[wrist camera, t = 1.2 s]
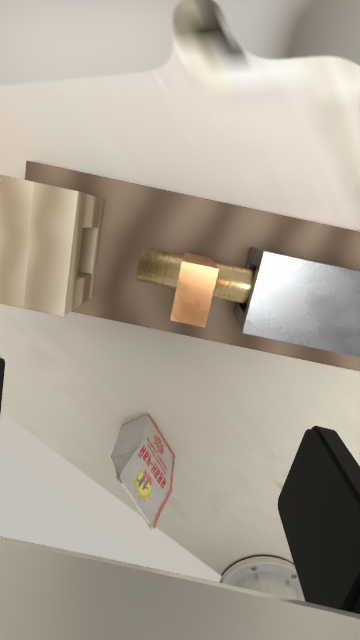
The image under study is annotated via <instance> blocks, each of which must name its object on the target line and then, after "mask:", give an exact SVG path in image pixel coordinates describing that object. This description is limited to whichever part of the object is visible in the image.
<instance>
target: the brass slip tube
mask: <svg viewBox="0 0 360 640" xmlns="http://www.w3.org/2000/svg"><path fill="white" fill-rule="evenodd" d="M255 272H256V270H251V269H247V268H242V267H237V266H233V265H228V264H223V263H218V262H214V260H213V258H210V257H205V256H201V255H196V254H191V253H186V252H185V254H184V255H181V254H176V253H171V252H166V251H162V250H157V249H152V248H147V247H143V249H142V252H141V256H140V260H139V265H138V271H137V281H139V282H144V283H149V284H154V285H158V286H163V287H168V288H173V289H176V293H175V298H174V303H173V308H172V313H171V318H170V320H171V321H176V322H181V323H185V324H190V325H195V326H200V327H205V325H206V321H207V317H208V313H209V308H210V304H211V300H212V297H216V298H220V299H225V300H230V301H235V302H239V303H244V304H247V303H248V299H249V295H250V291H251V287H252V284H253V280H254V276H255Z"/></svg>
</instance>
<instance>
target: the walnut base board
mask: <svg viewBox="0 0 360 640" xmlns="http://www.w3.org/2000/svg"><path fill="white" fill-rule="evenodd" d="M25 180H28V181H32V182H37V183H42V184H46V185H51V186H56V187H60V188H65V189H70V190H74V191H79V192H82V193H85V194H89V195H92V196H95V197H98V198H102V199H105V205H104V212H103V219H102V227H101V234H100V241H99V249H98V256H97V263H96V271H95V278H94V285H93V293H92V298H90V299H89V300H87V301H86V302H84V303H83V304H81V305H80V306H79V307H77V308H76V309H74V310H73V311H72V312H77V313H81V314H86V315H91V316H96V317H101V318H105V319H110V320H115V321H120V322H125V323H129V324H134V325H139V326H144V327H149V328H153V329H158V330H163V331H168V332H173V333H178V334H182V335H187V336H192V337H197V338H202V339H206V340H211V341H216V342H221V343H226V344H230V345H235V346H240V347H245V348H250V349H254V350H259V351H264V352H269V353H274V354H279V355H283V356H288V357H293V358H298V359H303V360H307V361H312V362H317V363H322V364H327V365H331V366H336V367H341V368H346V369H351V370H355V371H360V357H356V356H351V355H346V354H341V353H336V352H332V351H327V350H322V349H317V348H312V347H308V346H303V345H298V344H293V343H288V342H284V341H279V340H274V339H269V338H264V337H260V336H255V335H250V334H245V333H242V331H241V329H240V327H239V324H238V322H237V320H236V318H235V316H234V313H233V312H234V308H235V304H236V302H235V301H230V300H225V299H220V298H216V297H212V300H211V304H210V308H209V313H208V317H207V321H206V325H205V327H200V326H195V325H190V324H185V323H181V322H176V321H171V320H170V318H171V313H172V308H173V303H174V298H175V293H176V289H173V288H168V287H163V286H158V285H154V284H149V283H144V282H139V281H137V271H138V265H139V260H140V256H141V252H142V249H143V247H147V248H152V249H157V250H162V251H166V252H171V253H176V254H181V255H184V254H185V252H186V253H191V254H196V255H201V256H205V257H210V258H213V260H214V262H218V263H223V264H228V265H233V266H237V267H242V268H245V265H246V261H247V257H248V253H249V250H250V247H255V248H259V249H264V250H269V251H273V252H278V253H283V254H288V255H292V256H297V257H302V258H306V259H311V260H316V261H321V262H325V263H330V264H335V265H339V266H344V267H349V268H353V269H358V270H360V232H357V231H353V230H348V229H343V228H339V227H334V226H329V225H325V224H320V223H315V222H311V221H306V220H301V219H297V218H292V217H287V216H283V215H278V214H273V213H269V212H264V211H259V210H255V209H250V208H245V207H241V206H236V205H231V204H227V203H222V202H217V201H213V200H208V199H203V198H198V197H194V196H189V195H184V194H180V193H175V192H170V191H166V190H161V189H156V188H152V187H147V186H142V185H138V184H133V183H128V182H124V181H119V180H114V179H110V178H105V177H100V176H96V175H91V174H86V173H82V172H77V171H72V170H68V169H63V168H58V167H54V166H49V165H44V164H40V163H35V162H30V161H26V174H25Z"/></svg>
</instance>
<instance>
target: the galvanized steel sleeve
mask: <svg viewBox="0 0 360 640" xmlns="http://www.w3.org/2000/svg"><path fill="white" fill-rule="evenodd" d="M245 268H247V269H251V270H256V272H255V276H254V280H253V284H252V287H251V291H250V295H249V299H248V303H247V304H244V303H239V302H236V304H235V308H234V312H233V313H234V316H235V318H236V320H237V322H238V324H239V327H240V329H241V331H242V333H245V334H250V335H255V336H260V337H264V338H269V339H274V340H279V341H284V342H288V343H293V344H298V345H303V346H308V347H312V348H317V349H322V350H327V351H332V352H336V353H341V354H346V355H351V356H356V357H360V270H358V269H353V268H349V267H344V266H339V265H335V264H330V263H325V262H321V261H316V260H311V259H306V258H302V257H297V256H292V255H288V254H283V253H278V252H273V251H269V250H264V249H259V248H255V247H250V250H249V253H248V257H247V261H246V265H245Z"/></svg>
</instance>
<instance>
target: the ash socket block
mask: <svg viewBox="0 0 360 640" xmlns="http://www.w3.org/2000/svg"><path fill="white" fill-rule="evenodd" d="M104 205H105V199H102V198H98V197H95V196H92V195H89V194H85V193H82V192H79V191H74V190H70V189H65V188H60V187H56V186H51V185H46V184H42V183H37V182H32V181H28V180H23V179H18V178H13V177H9V176H4V175H0V303H1V304H5V305H10V306H15V307H20V308H25V309H29V310H34V311H39V312H44V313H49V314H53V315H58V316H63V317H64V316H65V315H67V314H68V313H70V312H71V311H73V310H74V309H76V308H77V307H79V306H80V305H81V304H83V303H84V302H86V301H87V300H89V299H90V298H92V293H93V285H94V278H95V271H96V263H97V256H98V249H99V241H100V234H101V227H102V219H103V212H104Z"/></svg>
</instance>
